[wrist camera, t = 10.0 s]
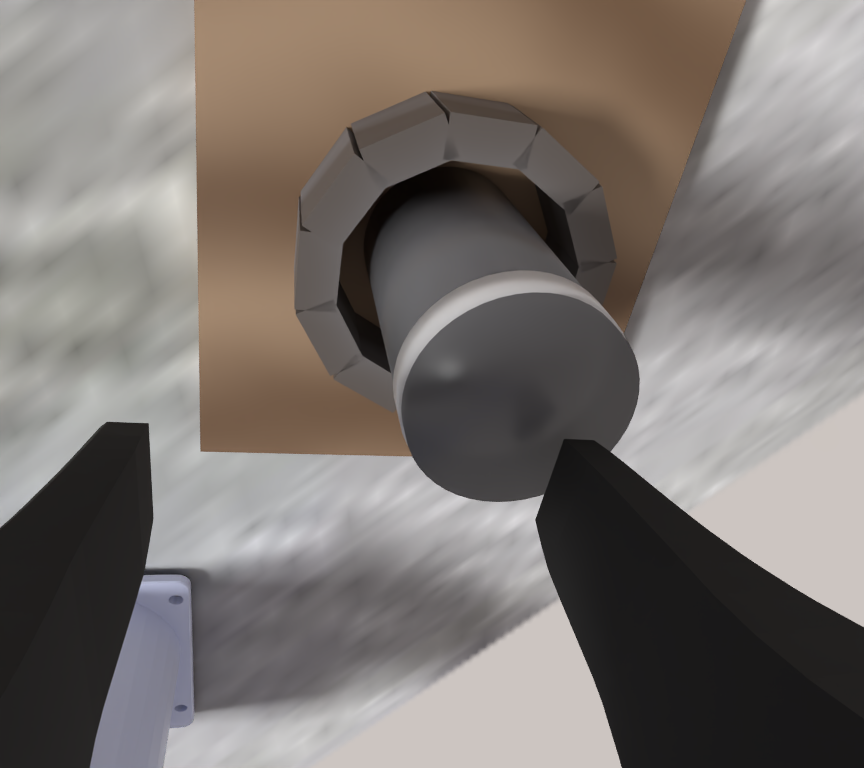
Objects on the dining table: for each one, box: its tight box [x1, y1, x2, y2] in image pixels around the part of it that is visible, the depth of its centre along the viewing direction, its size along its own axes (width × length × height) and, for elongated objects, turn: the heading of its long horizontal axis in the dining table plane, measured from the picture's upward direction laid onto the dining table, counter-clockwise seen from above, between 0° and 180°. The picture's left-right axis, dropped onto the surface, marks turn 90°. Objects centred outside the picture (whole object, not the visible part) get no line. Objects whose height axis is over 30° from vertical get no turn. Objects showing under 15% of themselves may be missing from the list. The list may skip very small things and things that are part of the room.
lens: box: [364, 167, 640, 502], centre depth 15 cm, size 4×4×8 cm
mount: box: [194, 0, 746, 456], centre depth 18 cm, size 15×13×4 cm
